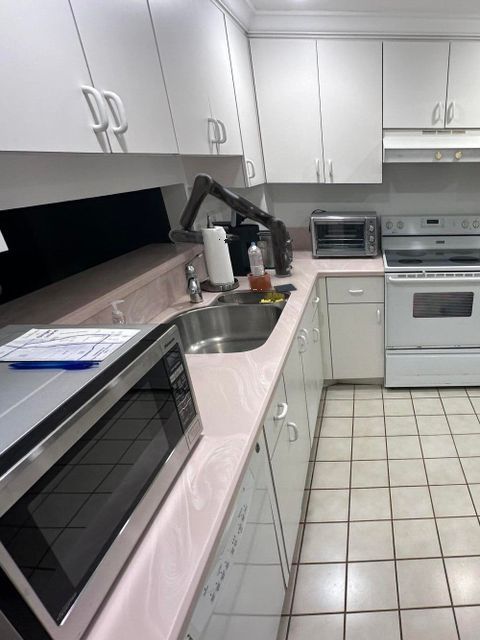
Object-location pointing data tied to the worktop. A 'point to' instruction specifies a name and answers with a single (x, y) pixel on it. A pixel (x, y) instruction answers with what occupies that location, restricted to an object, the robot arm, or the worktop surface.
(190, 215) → the robot arm
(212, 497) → the worktop surface
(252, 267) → the water bottle
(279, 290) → the dish mat
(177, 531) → the worktop surface
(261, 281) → the pot
